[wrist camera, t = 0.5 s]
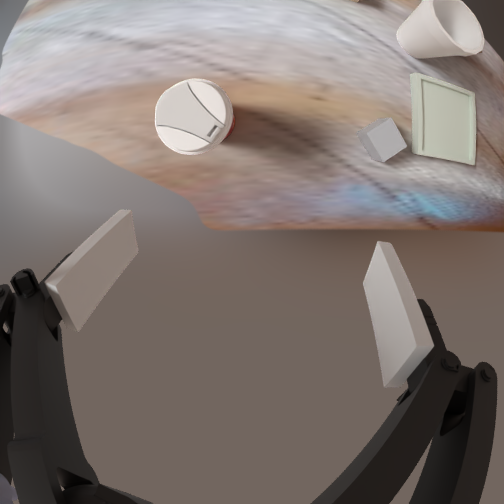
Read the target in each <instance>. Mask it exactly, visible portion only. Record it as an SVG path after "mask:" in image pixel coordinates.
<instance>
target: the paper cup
mask: <svg viewBox="0 0 504 504" xmlns="http://www.w3.org/2000/svg"><path fill="white" fill-rule="evenodd" d="M234 125H235V117H234V114H233V108H232V104H231V101H230V99H229V97H228V95H227V94H226V92H225V91H224V90H223V89H222V88H221V87H220V86H218V85H217V84H215V83H213V82H211V81H208V80H205V79H188V80H185V81H181V82H179V83H177V84H175V85H174V86H172V87H171V88H169V89H168V90H166V91H165V92H164V93H163V94H162V96H161V97H160V99H159V101H158V103H157V105H156V111H155V126H156V130H157V133H158V135H159V137H160V139H161V140H162V141H163V143H164V144H165V145H166V146H168V147H169V148H170V149H172V150H174V151H175V152H178V153H181V154H186V155H195V154H201V153H205V152H207V151H209V150H211V149H213V148H215V147H216V146H217V145H218V144H220V143H221V142H222V140H224V139H225V138H227V137H228V136H229V135H230V134H231V132H232V131H233V128H234Z"/></svg>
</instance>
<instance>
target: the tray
mask: <svg viewBox="0 0 504 504" xmlns="http://www.w3.org/2000/svg"><path fill="white" fill-rule="evenodd" d="M410 83H411V100H412V153H413V154H418V155H424V156H430V157H436V158H442V159H447V160H452V161H457V162H461V163H466V164H470V165H475V153H476V107H475V93H473V92H471V91H469V90H466V89H464V88H461V87H459V86H456V85H453V84H451V83H448V82H445V81H442V80H439V79H436V78H433V77H430V76H426V75H423V74H420V73H413V74H410Z"/></svg>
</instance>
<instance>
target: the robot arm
mask: <svg viewBox="0 0 504 504" xmlns="http://www.w3.org/2000/svg"><path fill="white" fill-rule="evenodd" d="M138 252H139V251H138V246H137V241H136V235H135V229H134V223H133V216H132V211H131V210H123V209H121V210H119V211H118V212H117V213H116V214H114V215H113V216H112V217H111V218H110V219H109V220H108V221H106V222H105V223H104V224H103V225H102V226H101V227H100V228H98V229H97V230H96V231H95V232H94V233H93V234H92V235H91V236H90V237H89V238H88V239H86V240H85V241H84V242H83V243H82V244H81V245H80V246H79V247H78V248H77V249H76V250H75V251H73V252H71V253H70V254H68V255H66V256H65V257H64V259H62V260H61V261H60V263H58V264H57V266H56V267H55V268H54V269H53V270H52V271H51V272H50V273H49V274H48V275H47V276H46V277H45V278H44V279H43V280H42V281H41V282H40V283H39V284H38V281H37V279H36V277H35V275H34V272H33V271H32V270H31V269H23V270H21V271H19V272H17V273H16V274H15V275H14V276H13V277H12V279H11V281H10V282H11V284H12V286H13V288H14V290H15V292H16V293H12V291H11V289H10V287H9V286H8V285H7V284H3V285H0V504H13V501H12V500H17V499H19V503H20V504H153V503H151V502H149V501H146V500H144V499H141V498H139V497H136V496H133V495H131V494H129V493H126V492H123V491H119V490H117V489H113V488H110V487H108V486H105V485H102V484H100V483H99V481H98V478H97V476H96V474H95V472H94V470H93V468H92V467H91V466H90V464H89V463H88V462H87V460H86V458H85V456H84V453H83V450H82V446H81V443H80V440H79V437H78V432H77V428H76V424H75V421H74V417H73V412H72V407H71V402H70V397H69V392H68V386H67V379H66V373H65V366H64V357H63V347H62V334H61V328H60V325H59V323H60V321H61V320H63V322H64V324H65V325H66V327H67V328H68V329H71V330H73V331H76V332H79V331H80V329H81V328H82V326H83V325H84V323H85V322H86V321H87V319H88V318H89V316H90V315H91V313H92V312H93V311H94V309H95V307H96V306H97V305H98V303H99V302H100V301H101V299H102V298H103V297H104V295H105V294H106V293H107V291H108V290H109V289H110V287H111V286H112V285H113V284H114V282H115V281H116V280H117V278H118V277H119V275H120V274H121V273H122V272H123V271H124V269H125V268H126V267H127V266H128V264H129V263H130V262H131V261H132V259H133V258H134V257H135V256H136V254H137V253H138ZM363 285H364V289H365V293H366V297H367V301H368V306H369V310H370V314H371V319H372V323H373V328H374V333H375V338H376V343H377V347H378V353H379V359H380V365H381V371H382V377H383V383H384V388H397V387H401V386H402V385H403V383H404V382H405V381H406V380H407V382H408V389H407V390H406V391H405V392H404V393H403V394H402V395H401V396H400V397H399V398H398V399H397V401H398V403H397V404H396V406H395V407H394V409H393V411H392V412H391V413H390V415H389V416H388V417H387V419H386V420H385V422H384V423H383V424H382V426H381V427H380V429H379V430H378V431H377V432H376V434H375V435H374V436H373V438H372V439H371V440H370V441H369V443H368V444H367V445H366V446H365V448H364V449H363V450H362V451H361V452H360V454H359V455H358V456H357V457H356V458H355V459H354V460H353V462H352V463H351V464H350V465H349V466H348V467H347V468H346V470H344V472H343V473H342V474H341V475H340V476H339V477H338V478H337V479H336V480H335V481H334V482H333V483H332V484H331V485H330V486H329V487H328V488H327V489H326V490H325V491H324V492H323V493H322V494H321V495H320V496H318V497H317V498H316V499H315V500H314V501H313V502H312V503H311V504H389V503H390V502H391V501H392V499H393V498H394V496H395V495H396V494H397V493H398V491H399V490H400V489H401V487H402V486H403V484H404V483H405V482H406V480H407V479H408V477H409V476H410V474H411V473H412V471H413V470H414V468H415V466H416V465H417V463H418V461H419V460H420V458H421V457H422V455H423V453H424V452H425V450H426V448H427V446H428V445H429V443H430V441H431V439H432V437H433V439H432V443H431V446H430V449H429V453H428V456H427V459H426V462H425V465H424V468H423V470H422V473H421V476H420V478H419V481H418V484H417V486H416V488H415V491H414V493H413V496H412V498H411V500H410V502H409V504H479V501H480V498H481V495H482V491H483V488H484V484H485V480H486V476H487V471H488V467H489V462H490V456H491V451H492V445H493V438H494V430H495V420H496V407H497V406H496V405H497V374H496V372H495V370H494V368H493V367H492V366H491V365H490V364H488V363H487V362H480V363H479V364H478V365H477V366H476V367H475V368H474V369H472V368H469V367H465V366H462V365H461V362H460V360H459V359H458V357H457V356H456V355H455V354H454V353H452V352H450V351H447V350H446V347H445V344H444V342H443V339H442V336H441V333H440V331H439V328H438V326H437V325H436V324H437V323H436V321H435V319H434V316H433V313H432V311H431V309H430V307H429V306H428V305H427V304H426V302H425V301H424V300H423V299H416V297H415V294H414V292H413V289H412V287H411V285H410V282H409V280H408V278H407V276H406V274H405V271H404V269H403V267H402V265H401V263H400V261H399V259H398V256H397V255H396V252H395V250H394V248H393V247H392V245H391V243H387V242H381V241H378V242H377V245H376V249H375V251H374V254H373V257H372V260H371V263H370V266H369V269H368V271H367V274H366V276H365V279H364V282H363ZM4 323H5V325H6V326H7V328H8V332H7V333H6V332H5V331H4V329H3V324H4ZM14 433H15V438H14ZM12 477H13V481H14V485H15V488H14V487H12V486H11V481H12ZM60 485H61V486H62V487H63V488H64V489H65V490H64V491H62V490H61V487H60Z"/></svg>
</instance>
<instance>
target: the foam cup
mask: <svg viewBox="0 0 504 504" xmlns="http://www.w3.org/2000/svg"><path fill="white" fill-rule="evenodd" d="M396 34H397V40H398V42H399V44H400V46H401V48H402V49H403V50H404V51H405V52H406V53H407V54H408V55H410V56H412V57H414V58H420V59H423V58H424V59H425V58H434V57H444V56H459V55H460V56H465V57H466V56H470V55H475V54H477V53H479V52H480V51H482V50H483V46H484V41H485V40H484V36H483V32H482V28H481V26H480V24H479V22H478V20H477V19H476V17H475V15H474V14H473V12H472V11H471V10H470V9H469V8H468V7H467V6H466V5H465V3H463V2H462V1H461V0H422V2H421V3H420V4H419V6H418V7H417V8H416V9H415V10H414V11H413V12H412V13H411V14H410V16H409V17H408V18H407V19H406V20H405V21H404V22H403V24H402V25H401V26H400V27H399V29H398V31H397V33H396Z"/></svg>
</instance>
